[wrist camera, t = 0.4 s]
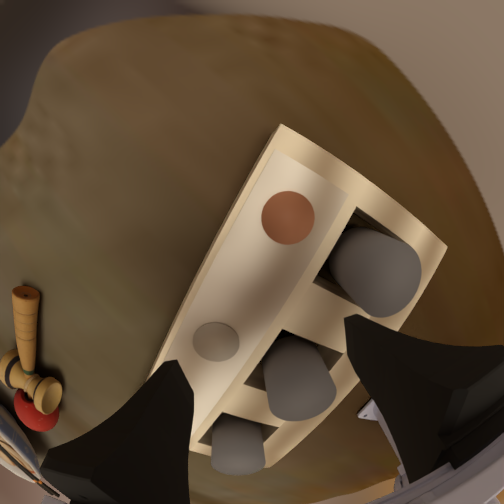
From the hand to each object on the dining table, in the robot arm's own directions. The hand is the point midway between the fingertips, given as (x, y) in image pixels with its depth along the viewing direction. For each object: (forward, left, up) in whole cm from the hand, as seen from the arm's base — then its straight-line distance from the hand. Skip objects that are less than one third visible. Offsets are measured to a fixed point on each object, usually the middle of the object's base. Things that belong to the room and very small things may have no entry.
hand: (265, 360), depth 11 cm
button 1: (-5, -5, -7) cm, 11 cm away
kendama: (+16, +19, -10) cm, 27 cm away
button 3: (-5, +13, -7) cm, 16 cm away
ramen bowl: (+25, +42, -10) cm, 50 cm away
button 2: (-5, +4, -7) cm, 10 cm away
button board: (-4, +4, -10) cm, 11 cm away
